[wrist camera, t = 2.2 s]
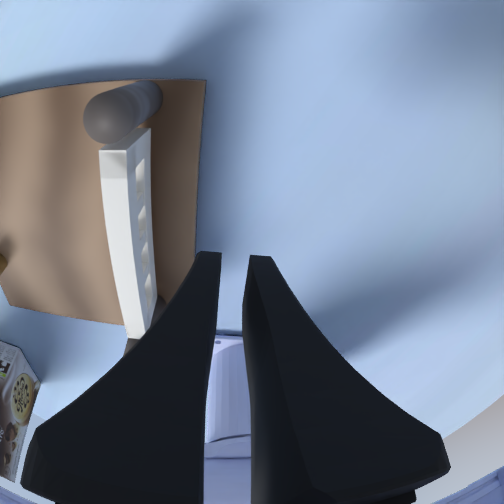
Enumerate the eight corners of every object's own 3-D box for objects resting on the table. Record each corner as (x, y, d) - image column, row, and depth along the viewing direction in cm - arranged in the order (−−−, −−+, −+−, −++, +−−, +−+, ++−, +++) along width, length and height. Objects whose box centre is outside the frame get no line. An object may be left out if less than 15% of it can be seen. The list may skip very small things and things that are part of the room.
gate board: (206, 80, 14) (187, 92, 9) (194, 323, 24) (187, 393, 19) (-35, 106, 12) (-98, 138, 7) (14, 298, 22) (-15, 349, 17)
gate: (157, 296, 20) (146, 340, 17) (140, 294, 20) (127, 337, 17) (150, 128, 14) (126, 150, 11) (128, 127, 14) (98, 150, 10)
